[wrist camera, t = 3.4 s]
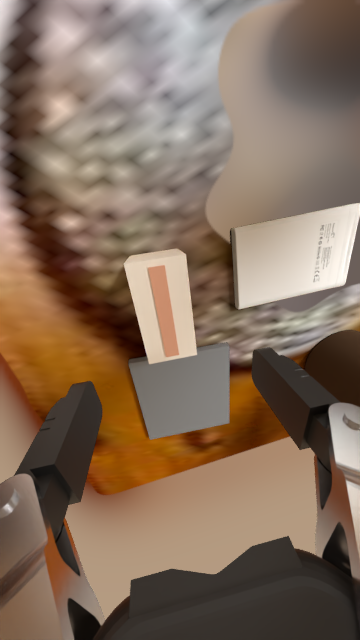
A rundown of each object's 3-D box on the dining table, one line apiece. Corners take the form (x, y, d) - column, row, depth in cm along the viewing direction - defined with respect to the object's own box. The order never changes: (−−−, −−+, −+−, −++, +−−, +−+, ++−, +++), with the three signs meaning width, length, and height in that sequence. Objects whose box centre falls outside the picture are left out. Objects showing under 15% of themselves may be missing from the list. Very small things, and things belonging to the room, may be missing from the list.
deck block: (130, 255, 18) (123, 264, 14) (177, 248, 18) (186, 254, 14) (149, 336, 22) (149, 365, 17) (187, 329, 22) (197, 355, 18)
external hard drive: (228, 228, 19) (348, 204, 19) (233, 305, 22) (333, 283, 23) (235, 228, 17) (364, 202, 18) (239, 310, 21) (346, 286, 21)
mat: (129, 359, 23) (128, 363, 22) (227, 342, 24) (229, 345, 23) (150, 434, 29) (150, 439, 28) (227, 418, 30) (229, 423, 29)
